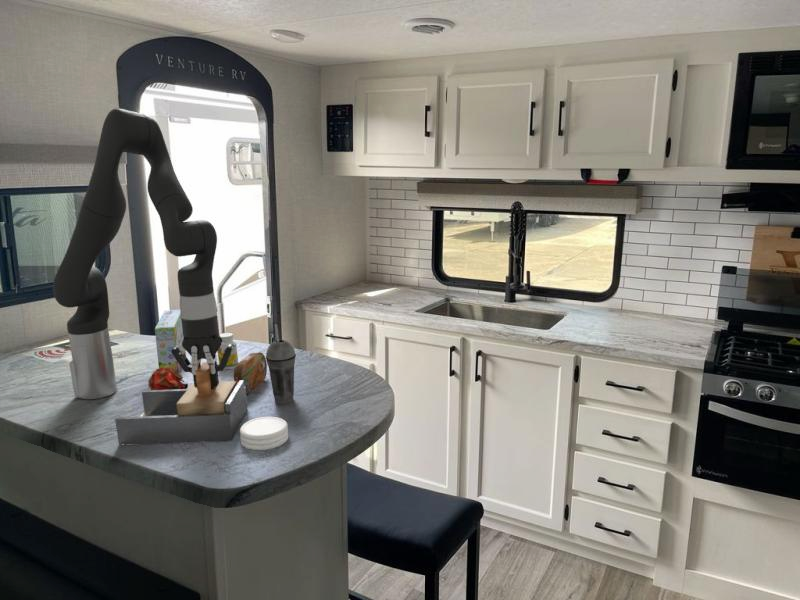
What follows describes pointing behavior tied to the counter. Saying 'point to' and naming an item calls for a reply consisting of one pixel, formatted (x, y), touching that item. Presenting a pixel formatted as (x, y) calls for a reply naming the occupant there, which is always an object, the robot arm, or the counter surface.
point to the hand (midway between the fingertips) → (207, 388)
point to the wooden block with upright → (205, 395)
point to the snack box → (169, 338)
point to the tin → (251, 371)
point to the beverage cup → (281, 369)
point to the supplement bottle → (233, 357)
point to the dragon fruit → (166, 380)
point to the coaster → (264, 433)
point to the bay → (181, 420)
